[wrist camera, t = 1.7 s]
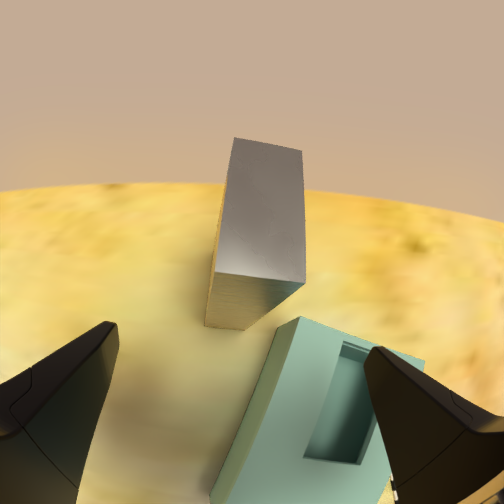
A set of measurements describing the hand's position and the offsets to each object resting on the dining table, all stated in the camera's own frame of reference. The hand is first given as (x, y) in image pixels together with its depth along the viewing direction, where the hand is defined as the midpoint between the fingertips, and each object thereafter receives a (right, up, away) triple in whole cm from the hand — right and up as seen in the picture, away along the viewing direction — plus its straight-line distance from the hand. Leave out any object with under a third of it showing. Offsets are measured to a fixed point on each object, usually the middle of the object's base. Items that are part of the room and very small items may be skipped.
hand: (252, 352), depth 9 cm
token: (-2, 0, +13) cm, 13 cm away
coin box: (+4, -11, +9) cm, 15 cm away
